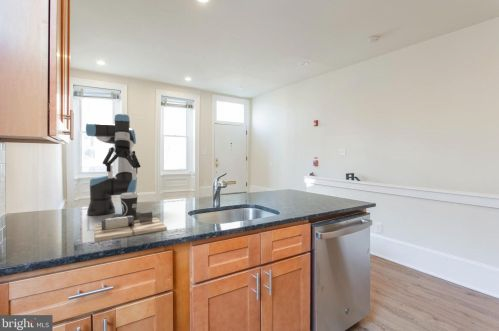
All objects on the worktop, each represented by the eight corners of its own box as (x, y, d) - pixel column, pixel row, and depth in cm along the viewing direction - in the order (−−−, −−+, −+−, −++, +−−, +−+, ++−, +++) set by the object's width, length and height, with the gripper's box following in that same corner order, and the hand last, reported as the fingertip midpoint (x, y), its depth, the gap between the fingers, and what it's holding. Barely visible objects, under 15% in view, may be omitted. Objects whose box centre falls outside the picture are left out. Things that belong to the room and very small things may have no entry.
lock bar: (133, 223, 125) (133, 215, 125) (134, 225, 122) (134, 216, 122) (101, 228, 118) (101, 218, 118) (101, 230, 115) (101, 220, 115)
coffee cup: (131, 222, 134) (130, 195, 134) (116, 221, 136) (115, 194, 136) (142, 217, 144) (141, 192, 143) (127, 216, 146) (127, 191, 145)
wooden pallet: (94, 228, 122) (94, 215, 122) (157, 220, 139) (157, 208, 138) (95, 241, 105) (94, 226, 104) (166, 229, 121) (166, 216, 121)
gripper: (103, 134, 123) (103, 176, 119) (146, 143, 145) (147, 179, 141) (95, 138, 127) (94, 178, 123) (138, 146, 148) (139, 181, 144)
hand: (122, 179), depth 132 cm, fingers open, 13 cm apart
